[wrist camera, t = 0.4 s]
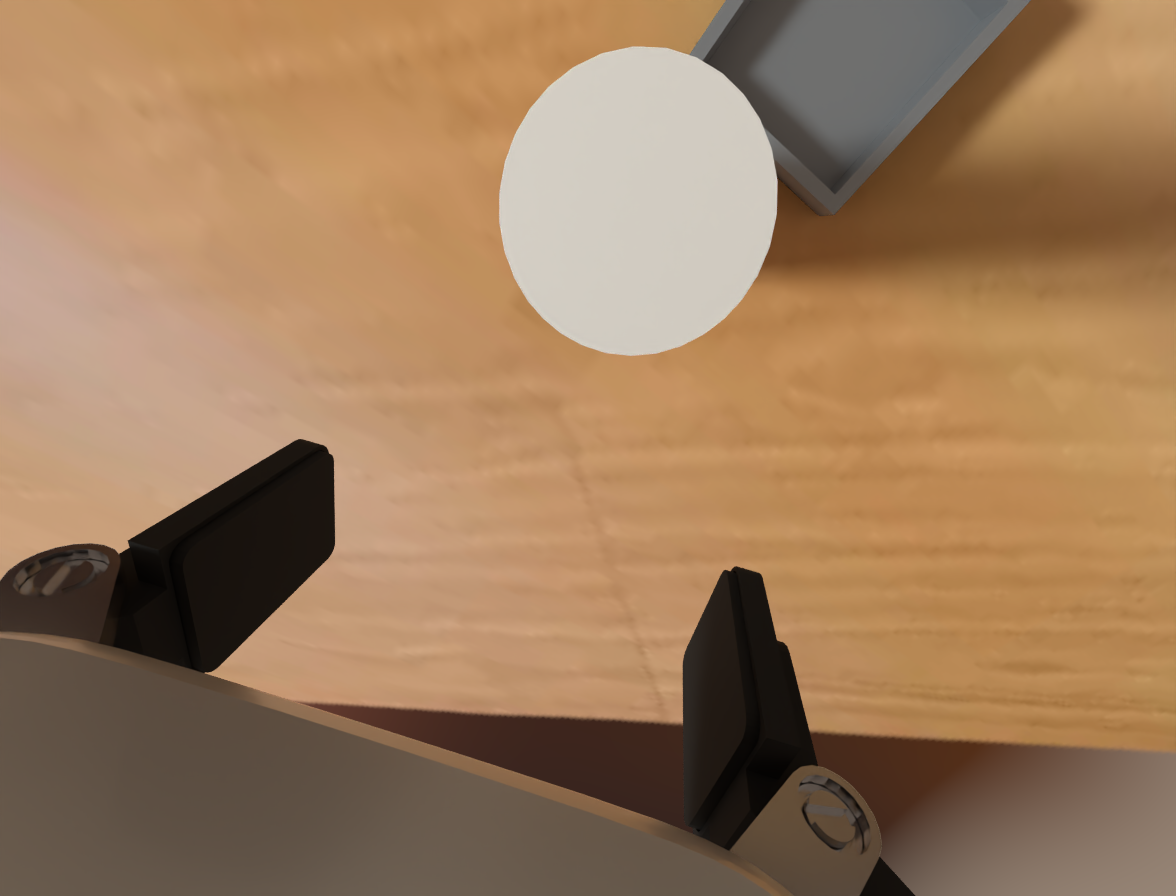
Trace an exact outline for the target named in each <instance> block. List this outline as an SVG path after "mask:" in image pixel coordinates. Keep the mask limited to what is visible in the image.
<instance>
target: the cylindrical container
mask: <svg viewBox="0 0 1176 896" xmlns="http://www.w3.org/2000/svg"><path fill="white" fill-rule="evenodd" d="M499 199H500V228H501V234H502V240H503V245H504V251H505V254H506V257H507V259H508V262H509V265H510V267H511V270H512V273H513V275H514V278H515V280H516V282H517V283H518V285H519V287H520V288H521V290H522V292H523V293H524V295H525V297H526V298H527V300H528V301H529V303H530V304H531V305H532V306H533V307H534V308H535V310H536V311H537V312H538V313H539V314H540V315H541V317H542V318H543V319H544V320H545V321H547V322H548V323H549V324H550V325H552V326H553V327H554V328H555V329H556V330H558V331H559V332H560V333H561V334H563V335H565V336H567V337H568V338H570V339H572V340H574V341H576V342H577V343H579V344H581V345H583V346H586V347H589V348H592V349H595V350H599V351H602V352H605V353H612V354H620V355H629V356H633V355H644V354H655V353H659V352H663V351H666V350H669V349H673V348H676V347H680V346H682V345H684V344H686V343H688V342H690V341H692V340H694V339H696V338H698V337H700V336H701V335H703V334H705V333H706V332H708V331H709V330H710V329H711V328H713V327H714V326H715V325H717V324H718V323H719V322H721V321H722V320H723V319H724V318H725V317H726V316H727V315H728V314H729V313H730V312H731V311H732V310H733V309H734V308H735V306H736V305H737V304H738V303H739V302H740V301H741V300H742V299H743V297H744V296H745V294H746V293H747V291H748V289H749V288H750V286H751V285H752V283H753V282H754V280H755V279H756V277H757V276H758V273H759V271H760V269H761V266H762V264H763V262H764V259H765V257H766V254H767V252H768V250H769V247H770V243H771V239H772V234H773V230H774V225H775V220H776V216H777V175H776V170H775V164H774V159H773V153H772V148H771V145H770V143H769V140H768V138H767V135H766V133H765V130H764V128H763V125H762V123H761V120H760V118H759V117H758V115H757V114H756V112H755V111H754V109H753V108H752V106H751V105H750V103H749V102H748V100H747V98H746V97H745V95H744V94H743V93H742V92H741V91H740V90H739V89H738V88H737V87H736V86H735V85H734V84H733V83H732V82H731V81H730V80H729V79H728V78H727V77H726V76H725V75H724V74H723V73H721V72H719V71H718V70H716V69H715V68H713V67H711V66H710V65H708V64H706V63H705V62H703V61H702V60H700V59H698V58H697V57H694V56H690V55H687V54H684V53H681V52H678V51H674V50H671V49H668V48H657V47H629V48H624V49H620V50H615V51H610V52H606V53H602V54H600V55H598V56H595V57H593V58H591V59H589V60H587V61H585V62H583V63H581V64H579V65H577V66H575V67H573V68H572V69H570V70H569V71H568V72H567V73H565V74H564V75H563V76H562V77H560V78H559V79H558V80H556V81H555V82H554V83H553V84H551V85H550V86H549V87H548V88H547V89H546V91H545V92H544V93H543V94H542V95H541V96H540V98H539V99H538V100H537V101H536V102H535V103H534V105H533V106H532V107H531V108H530V110H529V111H528V113H527V115H526V116H525V118H524V120H523V122H522V123H521V125H520V127H519V128H518V130H517V132H516V134H515V136H514V139H513V142H512V144H511V147H510V150H509V152H508V155H507V158H506V161H505V165H504V170H503V176H502V181H501V187H500V192H499Z"/></svg>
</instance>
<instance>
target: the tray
mask: <svg viewBox="0 0 1176 896" xmlns="http://www.w3.org/2000/svg"><path fill="white" fill-rule="evenodd" d="M1030 1H1031V0H726V1H725V3H724V4H723V6H722V7H721V9H720V10H719V12H718V13H717V14H716V16H715V17H714V19H713V20H712V22H711V23H710V25H709V26H708V28H707V29H706V31H705V32H704V34H703V35H702V37H701V38H700V40H699V41H698V43H697V44H696V46H695V47H694V49H693V50H692V52H691V53H690V56H694V57H697V58H698V59H700V60H702V61H703V62H705V63H706V64H708V65H710V66H711V67H713V68H715V69H716V70H718V71H719V72H721V73H723V74H724V75H725V76H726V77H727V78H728V79H729V80H730V81H731V82H732V83H733V84H734V85H735V86H736V87H737V88H738V89H739V90H740V91H741V92H742V93H743V94H744V95H745V97H746V98H747V100H748V102H749V103H750V105H751V106H752V108H753V109H754V111H755V112H756V114H757V115H758V117H759V118H760V120H761V123H762V125H763V128H764V130H765V133H766V135H767V138H768V140H769V143H770V145H771V148H772V153H773V159H774V164H775V170H776V175H777V177H778V178H779V179H780V180H781V181H782V182H783V183H784V184H785V185H786V186H787V187H788V188H789V189H791V190H792V191H793V192H794V193H795V194H796V195H797V196H798V197H799V198H800V199H801V200H802V201H803V202H805V203H806V204H807V205H808V206H809V207H810V208H811V209H812V210H813V211H814V212H815V213H816V214H817V215H819V216H827V215H835V214H836V212H837V211H838V210H839V209H840V208H841V207H842V206H843V205H844V204H845V203H846V202H847V200H848V199H849V198H850V197H851V196H852V195H853V194H854V193H855V192H856V191H857V189H858V188H859V187H860V186H861V185H862V184H863V183H864V182H865V181H866V180H867V179H868V177H869V176H870V175H871V174H872V173H873V172H874V171H875V170H876V169H877V168H878V167H879V165H880V164H881V163H882V162H883V161H884V160H885V159H886V158H887V157H888V156H889V155H890V153H891V152H892V151H893V150H894V149H895V148H896V147H897V146H898V145H899V144H900V143H901V141H902V140H903V139H904V138H905V137H906V136H907V135H908V134H909V133H910V132H911V131H912V129H913V128H914V127H915V126H916V125H917V124H918V123H919V122H920V121H921V120H922V119H923V117H924V116H925V115H926V114H927V113H928V112H929V111H930V110H931V109H932V108H933V107H934V105H935V104H936V103H937V102H938V101H939V100H940V99H941V98H942V97H943V96H944V95H945V93H946V92H947V91H948V90H949V89H950V88H951V87H952V86H953V85H954V84H955V83H956V81H957V80H958V79H959V78H960V77H961V76H962V75H963V74H964V73H965V72H966V71H967V69H968V68H969V67H970V66H971V65H972V64H973V63H974V62H975V61H976V60H977V59H978V57H979V56H980V55H981V54H982V53H983V52H984V51H985V50H986V49H987V48H988V47H989V45H990V44H991V43H992V42H993V41H994V40H995V39H996V38H997V37H998V36H999V34H1000V33H1001V32H1002V31H1003V30H1004V29H1005V28H1006V27H1007V26H1008V25H1009V24H1010V22H1011V21H1012V20H1013V19H1014V18H1015V17H1016V16H1017V15H1018V14H1019V13H1020V12H1021V10H1022V9H1023V8H1024V7H1025V6H1026V5H1027V4H1028V3H1029V2H1030Z"/></svg>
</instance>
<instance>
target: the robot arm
mask: <svg viewBox="0 0 1176 896" xmlns="http://www.w3.org/2000/svg"><path fill="white" fill-rule="evenodd" d="M128 543H129V547H130V548H128V549H127V550H125V551H123V552H122V553H120V554H118V553H117V551H116V550H115V549H113V548H110V547H108V546H105V545H99V544H91V543H89V544H73V545H68V546H62V547H57V548H53V549H50V550H47V551H44V552H41V553H38V554H36V555H34V556H32V557H29V558H27V559H25V560H23V561H21V562H20V563H18V564H17V565H16V566H14V567H13V568H11V569H10V570H9V571H8V572H7V573H6V574H5V575H4V577H3V578H2V579H1V580H0V896H915V895H914V894H913V893H912V892H911V891H910V889H909V888H908V887H907V886H906V885H905V884H904V883H903V882H902V881H901V880H900V878H899V877H898V876H897V875H896V874H895V873H894V872H893V871H892V870H891V869H890V868H889V866H888V865H887V864H886V863H885V862H884V861H883V860H882V859H881V858H880V857H879V855H880V851H881V847H882V845H881V837H880V830H879V828H878V825H877V823H876V820H875V817H874V815H873V813H872V812H871V810H870V809H869V807H868V805H867V804H866V802H865V801H864V799H863V798H862V797H861V796H860V795H859V793H858V792H857V791H856V790H855V789H854V788H853V787H852V786H851V785H850V784H849V783H847V782H846V781H845V780H844V779H843V778H841V777H840V776H839V775H837V774H835V773H833V772H831V771H829V770H827V769H825V768H822V767H818V764H817V760H816V756H815V752H814V748H813V744H812V740H811V736H810V732H809V728H808V724H807V720H806V716H805V712H804V708H803V704H802V700H801V696H800V692H799V688H798V684H797V680H796V676H795V672H794V668H793V664H792V660H791V656H790V653H789V650H788V647H787V646H786V645H785V644H784V643H783V642H780V641H777V639H776V635H775V630H774V626H773V622H772V617H771V613H770V608H769V604H768V600H767V595H766V591H765V587H764V582H763V578H762V575H761V574H760V573H757V572H754V571H750V570H747V569H744V568H740V567H737V566H736V567H734V568H733V569H732V570H731V571H727V570H724V571H723V572H722V574H721V576H720V578H719V580H718V582H717V585H716V587H715V589H714V591H713V593H712V595H711V597H710V600H709V602H708V604H707V606H706V608H705V610H704V612H703V614H702V617H701V619H700V621H699V623H698V625H697V627H696V629H695V632H694V634H693V636H692V638H691V640H690V642H689V644H688V646H687V649H686V651H685V655H684V659H683V749H684V750H683V751H684V752H683V753H684V820H685V824H686V825H687V826H689V827H692V828H693V834H691V833H689V832H686V831H684V830H682V829H679V828H677V827H674V826H672V825H669V824H667V823H664V822H661V821H658V820H656V819H653V818H650V817H647V816H644V815H641V814H638V813H635V812H632V811H630V810H627V809H624V808H621V807H618V806H615V805H612V804H609V803H606V802H604V801H601V800H598V799H595V798H592V797H589V796H586V795H583V794H580V793H577V792H574V791H571V790H568V789H565V788H562V787H559V786H556V785H553V784H550V783H547V782H544V781H541V780H537V779H534V778H531V777H528V776H525V775H522V774H519V773H516V772H513V771H510V770H507V769H503V768H500V767H497V766H494V765H491V764H488V763H485V762H482V761H479V760H476V759H473V758H470V757H467V756H464V755H461V754H457V753H454V752H451V751H448V750H445V749H442V748H439V747H436V746H432V745H429V744H426V743H423V742H420V741H417V740H414V739H411V738H408V737H404V736H401V735H398V734H395V733H392V732H389V731H386V730H382V729H379V728H376V727H373V726H370V725H367V724H364V723H360V722H357V721H354V720H351V719H348V718H344V717H342V716H338V715H335V714H332V713H329V712H326V711H323V710H320V709H317V708H313V707H310V706H307V705H304V704H301V703H297V702H294V701H291V700H288V699H285V698H282V697H278V696H275V695H272V694H269V693H266V692H262V691H259V690H256V689H253V688H250V687H246V686H243V685H240V684H237V683H234V682H230V681H227V680H224V679H221V678H218V677H214V676H211V675H208V674H205V672H207V673H208V672H212V671H214V670H215V669H216V668H218V667H219V666H220V665H221V664H222V663H223V662H224V661H225V660H226V659H227V658H228V657H229V656H230V655H231V654H232V653H233V652H234V651H235V650H236V649H237V648H238V647H239V646H240V645H241V644H242V643H243V642H244V641H245V640H246V639H247V638H248V637H249V636H250V635H251V634H252V633H253V632H254V631H255V630H256V629H257V628H258V627H259V626H260V625H261V624H262V623H263V622H264V621H265V620H266V619H267V618H268V617H269V616H270V615H271V614H272V613H273V612H274V611H275V610H277V609H278V608H279V607H280V606H281V605H282V604H283V603H284V602H285V601H286V600H287V599H288V598H289V597H290V596H291V595H292V594H293V593H294V592H295V591H296V590H297V589H298V588H299V587H300V586H301V585H302V584H303V583H304V582H305V581H306V580H307V579H308V578H309V577H310V576H311V575H312V574H313V573H314V572H315V571H316V570H317V569H318V568H319V567H320V566H321V565H322V564H323V563H324V562H325V561H326V560H327V559H328V558H329V557H330V555H331V554H332V552H333V549H334V546H335V507H334V459H333V456H332V455H331V454H329V452H328V449H327V447H325V446H323V445H320V444H317V443H313V442H310V441H306V440H303V439H298V440H296V441H294V442H292V443H291V444H289V445H287V446H286V447H284V448H282V449H281V450H279V451H277V452H276V453H274V454H272V455H270V456H269V457H267V458H265V459H264V460H262V461H260V462H259V463H257V464H255V465H254V466H252V467H250V468H249V469H247V470H245V471H244V472H242V473H240V474H239V475H237V476H235V477H234V478H232V479H230V480H229V481H227V482H225V483H224V484H222V485H220V486H219V487H217V488H215V489H214V490H212V491H210V492H208V493H207V494H205V495H203V496H202V497H200V498H198V499H197V500H195V501H193V502H192V503H190V504H188V505H187V506H185V507H183V508H182V509H180V510H178V511H177V512H175V513H173V514H172V515H170V516H168V517H167V518H165V519H163V520H162V521H160V522H158V523H157V524H155V525H153V526H152V527H150V528H148V529H146V530H145V531H143V532H141V533H140V534H138V535H136V536H135V537H133V538H131V539H130V540H128Z"/></svg>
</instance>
